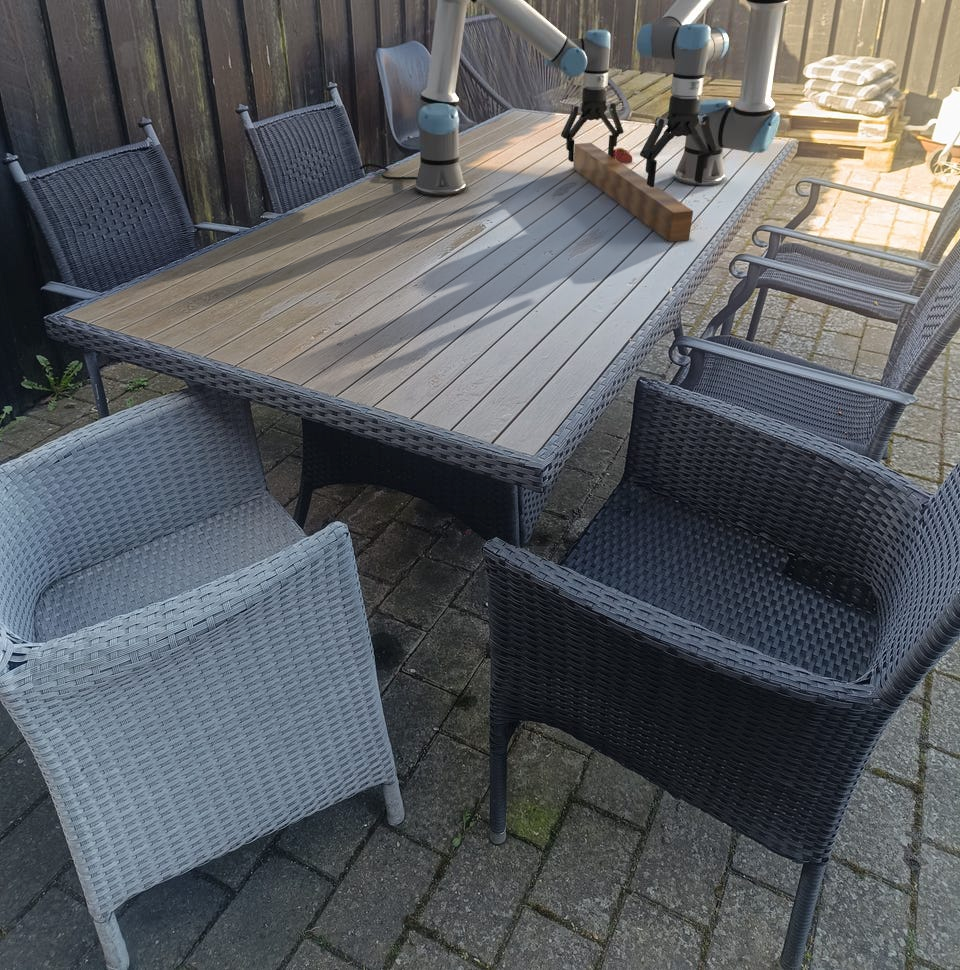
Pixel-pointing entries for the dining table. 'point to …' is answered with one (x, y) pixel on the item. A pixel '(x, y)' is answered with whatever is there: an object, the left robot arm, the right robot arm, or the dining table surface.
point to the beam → (634, 193)
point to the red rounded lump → (622, 155)
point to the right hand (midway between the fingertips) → (674, 183)
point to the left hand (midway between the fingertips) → (590, 159)
